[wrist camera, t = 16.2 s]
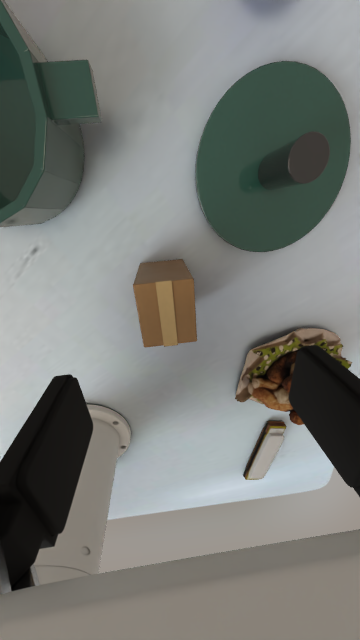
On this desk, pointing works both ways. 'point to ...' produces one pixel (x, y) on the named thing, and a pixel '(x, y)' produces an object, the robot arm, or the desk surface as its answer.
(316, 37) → the desk surface
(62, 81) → the pot
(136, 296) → the package
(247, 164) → the pot lid
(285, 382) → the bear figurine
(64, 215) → the desk surface
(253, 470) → the harmonica
